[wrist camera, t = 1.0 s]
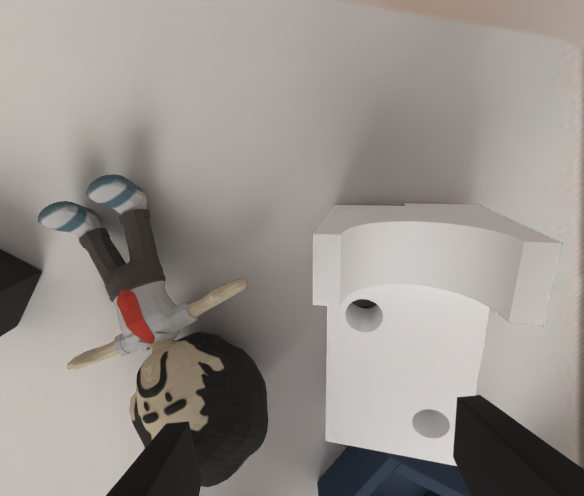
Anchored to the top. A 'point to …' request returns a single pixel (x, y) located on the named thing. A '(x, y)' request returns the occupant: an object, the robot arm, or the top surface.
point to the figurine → (168, 338)
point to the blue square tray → (389, 476)
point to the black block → (15, 289)
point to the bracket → (418, 315)
